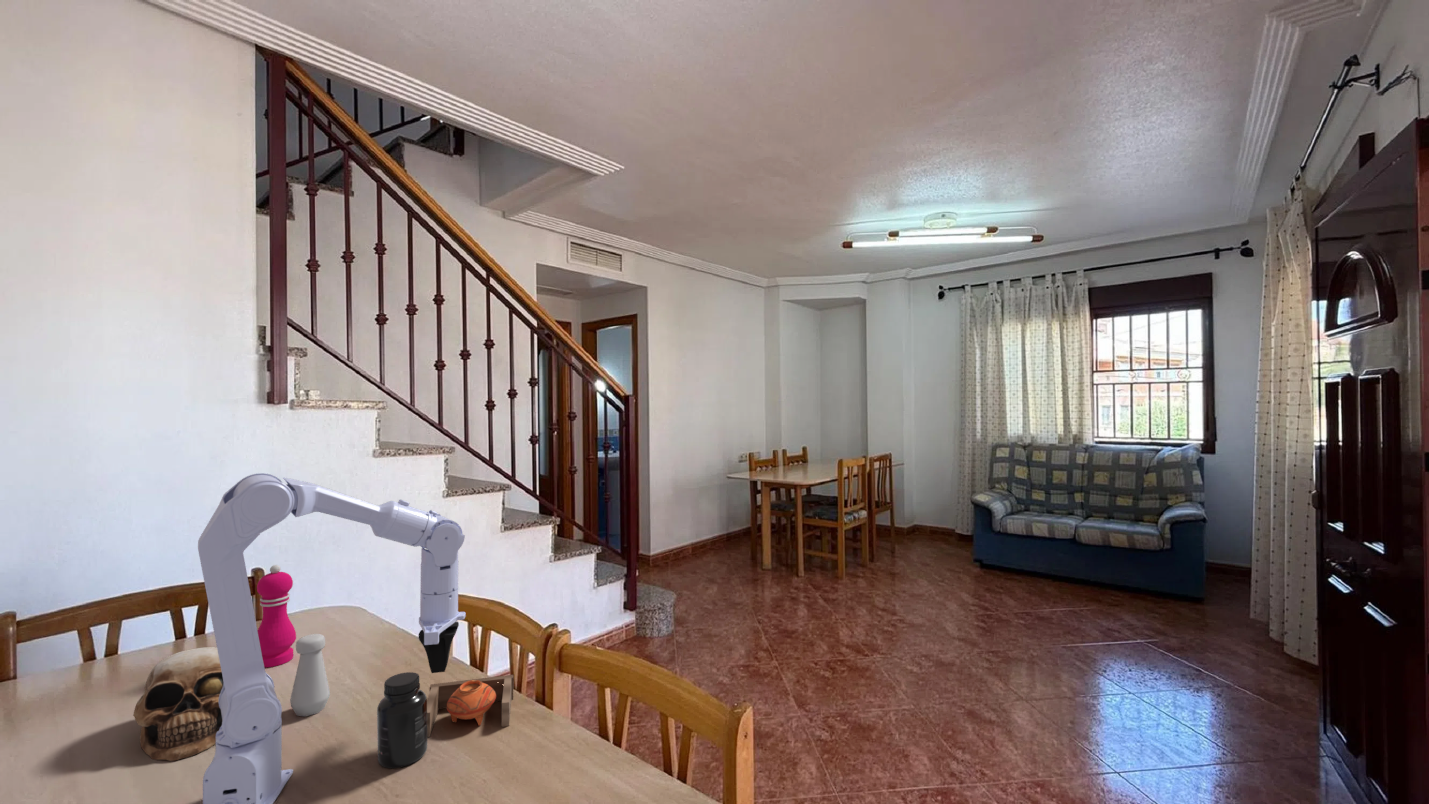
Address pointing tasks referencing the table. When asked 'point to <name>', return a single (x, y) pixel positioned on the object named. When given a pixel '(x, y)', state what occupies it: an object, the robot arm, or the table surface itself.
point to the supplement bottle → (402, 721)
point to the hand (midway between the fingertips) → (438, 670)
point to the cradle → (445, 690)
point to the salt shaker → (310, 677)
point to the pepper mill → (275, 618)
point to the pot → (471, 701)
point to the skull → (181, 705)
